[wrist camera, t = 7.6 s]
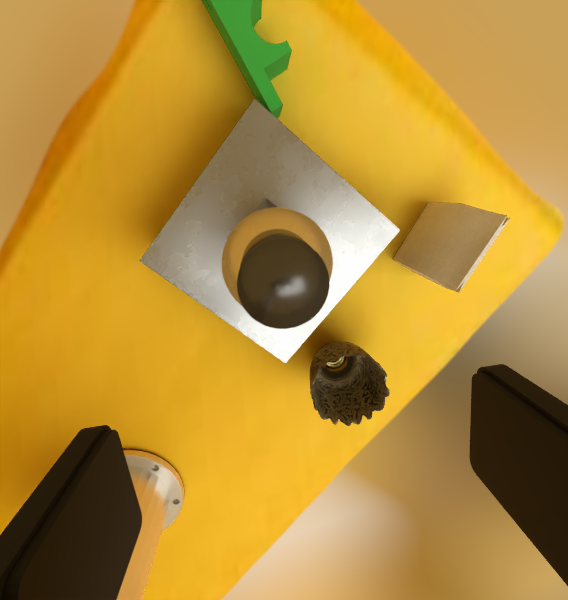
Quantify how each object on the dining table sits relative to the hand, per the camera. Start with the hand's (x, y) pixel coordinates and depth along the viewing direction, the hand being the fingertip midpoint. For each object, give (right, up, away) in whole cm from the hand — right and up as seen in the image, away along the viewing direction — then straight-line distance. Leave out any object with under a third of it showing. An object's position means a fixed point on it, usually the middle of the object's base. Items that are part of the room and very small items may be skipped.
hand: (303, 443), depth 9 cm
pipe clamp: (-3, +26, +22) cm, 34 cm away
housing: (-2, +10, +27) cm, 29 cm away
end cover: (-1, +8, +18) cm, 20 cm away
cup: (+5, -3, +31) cm, 32 cm away
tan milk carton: (+14, +10, +28) cm, 33 cm away
